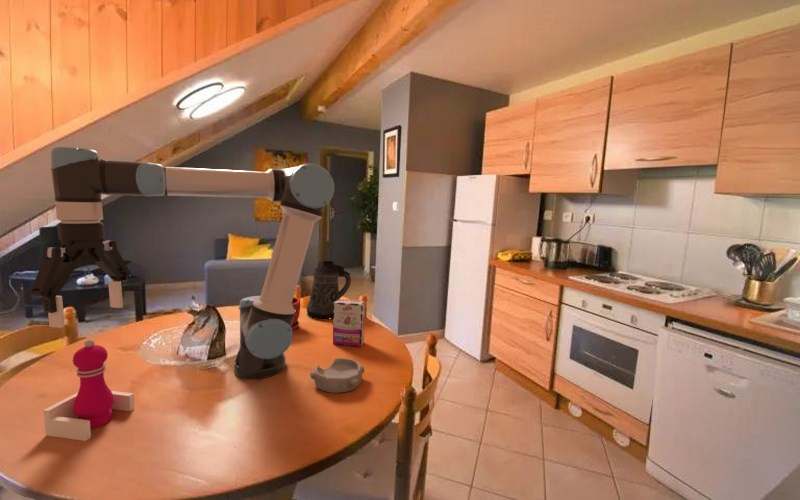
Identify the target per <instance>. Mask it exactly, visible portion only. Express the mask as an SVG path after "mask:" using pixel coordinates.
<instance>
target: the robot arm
mask: <svg viewBox="0 0 800 500" xmlns="http://www.w3.org/2000/svg"><path fill="white" fill-rule="evenodd" d="M50 154H51V155H50V157H51V159H50V160H51V161H50V162H51V167H50V171H51V176H52V178H51V179H52V184H53V191H54V192H53V193H54V205H55V213H56V214H55V216H56V220H58V223H57V236H58V240H60V242H61V246H60V247H51V246H49V247H48V246H47V247H45V248H44V250H43V260H42V262H41V265H40V268H39V270H38V272H37V275H36V276H35V278H34V281H33V284H32V286H31V289H30V291H29V295H30V296H32V297H41V298H42V301H43V302H42V303H43V309H44V313H46V314H47V316H48V323H49V327H50V328H60V329H61V328H65V327H66V323H65V321H66V320H65V312H64V311H65V310H64V305H63V304H64V303H63V296H62V295H59V293H60V292H61V290H62V289H63V287H64V285H65V284H66V283H67V281H68V279H69V278H70V276H71V275H72V274H73V272H74V271H75V270H76V269H78V268H79V266H86V265H88V264H94V265H96V266H97V267H98V268H99V269H100V270H101V271H103V272H104V274H105V275H106V276H108V278H110V279H111V280H108V283H107V284H108V295H109V306H110V308H113V309H114V308H115V309H122V308H123V307H124V302H123V293H124V290H125V289H124V281H127V280H128V277H130V276H131V271H130V269H129V268H128V265H127V264H126V262H125V261H124V258H123V257H122V255H121V253H120V251H119V250H118V245H117V242H116V241H115V240H105V237H106V236H105V226H104V223H103V222H101V221H102V220H104V214H103V202H102V195H106V196H107V195H108V196H111V195H112V196H113V195H114V196H132V197H133V196H135V197H136V196H137V197H140V196H141V197H162V196H164V197H165V196H168V197H169V196H170V197H171V196H174V197H177V196H179V197H210V198H211V197H212V198H213V197H214V198H216V197H217V198H219V197H220V198H257V199H258V198H260V199H268V200H269V201H270V202H278V203H279V202H280V204H279V207H280V210H282V213H283V215H282V220H281V223H280V226H279V229H278V232H277V236H276V237H277V238H276V240H275V244H274V248H273V251H272V255H271V258H270V261H269V265H268V269H267V272H266V275H265V279H264V283H263V286H262V290H261V293H260V295H252V296H247V297H244V298H241V300H240V301H239V307H238V310H239V343H240V344H239V349H238V352H237V355H236V357H235V360H234V364H233V365H234V366H233V368H234V369H233V371H234V374H235V375H236V376H238V377H240V378H245V379H254V380H255V379H262V378H268V377H271V376H275V375H277V374H279V373H280V372H281V371H283V370H284V369H285V367H286V356H285V353H286V351H288V349H289V348H290V347H291V344H292V342H293V339H294V337H293V334H294V333H293V330H292V328H291V325H292V322H293V318H294V315H295V312H296V310H295V309H294V307H293V305H292V301H293V298H294V297H295V293H296V291H297V286H298V283H299V279H300V275H301V274H302V273H301V272H302V269H303V265H304V262H305V258H306V256H307V255H306V254H307V251H308V248H309V244H310V240H311V237H312V233H313V230H314V227H315V226H314V225H315V223H316V222H318V221H319V220H321V219H322V218H323V214H324V211H325V208H326V205H327V204H329V202H330V201H331V200H332V199H333V197H334V193H335V182H334V179H333V177H332V175H331V174H330V172H329V171H328V170H327V169H326V168H324V166H321V165H319V164H316V163H311V162H310V163H309V162H305V163H301V164H298V165H297V166H292V167H288V168H269V169H268V170H267V171H253V170H236V169H235V170H234V169H233V170H232V169H217V168H216V169H215V168H214V169H212V168H197V167H196V168H195V167H179V166H178V167H177V166H176V167H175V166H163V165H162V164H160V163H153V162H147V161H143V162H142V161H122V160H120V161H119V160H106V159H100V156H99V153H98V151H96V150H93V149H88V148H80V147H79V148H78V147H71V146H70V147H69V146H68V147H67V146H57V147H54V148H53V149H52V150H51V152H50ZM59 221H60V222H59ZM103 239H104V240H103Z"/></svg>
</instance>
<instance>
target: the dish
mask: <svg viewBox="0 0 800 500" xmlns="http://www.w3.org/2000/svg"><path fill="white" fill-rule="evenodd" d="M363 373H365V366H364V365H363V364H361V363H360V362H359V361H357V360H355V359H352V358H347V357H337V358H335V359H334V360H333V361H332V363H331V365H329V366H328V367H327V368H325V369H323V368H322V367H320V366H319V365H317V366H315V368H314V369H313V370H311V371H310V373H309V374H310V379H311V380H314V382H315V387H317V389H319V390H320V391H323V392H325V393H333V394H335V393H338V394H339V393H346V392H350V391H353V390H355V389H356V388H357V387H359V385H360V384H361V382H362V379H363Z"/></svg>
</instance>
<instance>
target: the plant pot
mask: <svg viewBox="0 0 800 500" xmlns="http://www.w3.org/2000/svg"><path fill="white" fill-rule="evenodd" d="M292 305H293V307H294V309H295V315H294V318H293V322H292V325H291V328H292V331H293V330H295V329H296V328H298V326H299V324H300V323H299V321H298V320H299V317H300V315H301V313H300V312H301V300H300V299H299V298H298V297H296V296H294V298H293V301H292Z"/></svg>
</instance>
